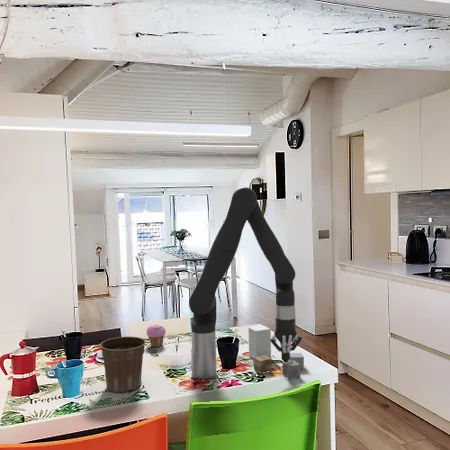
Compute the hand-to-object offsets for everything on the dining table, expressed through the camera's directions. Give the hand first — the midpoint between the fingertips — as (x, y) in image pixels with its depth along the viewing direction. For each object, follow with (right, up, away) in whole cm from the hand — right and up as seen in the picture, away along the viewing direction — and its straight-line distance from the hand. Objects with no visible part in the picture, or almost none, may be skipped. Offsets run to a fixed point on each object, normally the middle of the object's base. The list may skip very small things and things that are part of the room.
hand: (285, 361), depth 166 cm
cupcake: (-55, -5, +40) cm, 69 cm away
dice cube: (+2, -6, 0) cm, 6 cm away
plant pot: (-60, -7, -6) cm, 60 cm away
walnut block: (-8, -6, +7) cm, 12 cm away
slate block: (+6, -5, +9) cm, 12 cm away
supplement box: (-8, -5, +22) cm, 24 cm away
